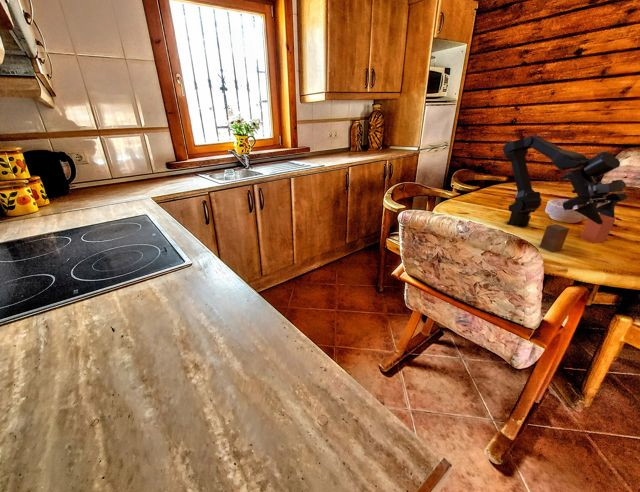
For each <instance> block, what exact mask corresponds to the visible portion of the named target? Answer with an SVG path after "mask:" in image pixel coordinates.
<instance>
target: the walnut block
mask: <svg viewBox="0 0 640 492" xmlns="http://www.w3.org/2000/svg"><path fill="white" fill-rule="evenodd" d="M569 232H570V227H567V226H563V225H560V224H558V223H555V224H548V225H546V227H545V230H544V232H543V236H542V237H541V238H542V239H541V241H540V245H539V248H541V249H543V250H546V251H549V252H551V253H555V252H558V251H562V249H563V247H564V245H565V242H566V239H567V236H568V234H569Z"/></svg>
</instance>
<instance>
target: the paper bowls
mask: <svg viewBox="0 0 640 492" xmlns="http://www.w3.org/2000/svg"><path fill="white" fill-rule="evenodd" d="M567 200H568V199H566V198H554V199H549V200H548V201H547V203H546V206H545V208H544V212H545V213H546V214H547V215H549V218H550V219H552V220H554V221H556V222H560V223H566V224H576V223H579V222H581V221H582V220H586V219H587V220H588V218H587V217H586V216H584V215H582V214H580V213H579V212H577V211H574V210H575V209H577V205H576V206H574V207H573V209H571V210H564V208H563V206H562V205H563V202H565V201H567Z"/></svg>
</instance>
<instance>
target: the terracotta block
mask: <svg viewBox="0 0 640 492" xmlns="http://www.w3.org/2000/svg"><path fill="white" fill-rule="evenodd" d="M599 215H600V217H601V220H602V224H597V223H595V222H594V221H592V220H591V219H589V218H587V221H586V222H585V225H584V227H583V229H582V232H581V234H580V237H579V239H582V240H584V241H587V242H589V243H592V244H599V243H605V242H606V241H607V239H608V236H609V234H610V232H611V230H610V229H612V228H611V227H613V225H614V224H615V222H616V217H615V218H612V217H609V216H606V215H603V214H600V213H599ZM614 221H615V222H614ZM606 238H607V239H606Z"/></svg>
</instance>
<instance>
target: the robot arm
mask: <svg viewBox="0 0 640 492" xmlns="http://www.w3.org/2000/svg"><path fill="white" fill-rule="evenodd" d="M531 149H533V150H535V151H536V152H538V153H540V154H541V155H543V156H544V157H547V158H548V159H550V160H551V163H552V165H553V166H554V167H555V168H557V169H558V170H559V171H569V172H564V173H563V175H562V176H561V178H560V180H561V181H569V183H570V184H571V186H572V188H573V189H572V190H571V193H572V194H576V195H577V196H576V195H575V196H574V197H572V198H570V199H567V201H565V202H563V205H562V206H563V208H564V210H571V209H573V207H574V206H576V205H577V209H575V210H574V211H577V212H579V213H580V214H582V215H584V216H586V217H587V219H588V218H589V219H591V220H592V221H594V222H595V223H597V224H602V220H601V217H600V215H599V214H603V215H606V216H609V217H612V218H615V219H616V217H615V216H616V215H615V207H616V205H617V204H618V203H620V202H624V201H626V200H628V196H627V194H626V193H625V192H624V189H625V188H626V187H627V184H626V182H625V181H624V180H623V179H622V178H621V179H615V180H611V182H605V183H602V182H601V181H596V180H595V179H594V178H599V177H602V176H604V175H606V174H607V173H610V172H611V171H613V170H616V169H617V168H619V167H620V166H621V162H620V160H619V158H617V157H616V156H614V155H612V154H609V152H608V151H601V152H599V153H597V154H596V155H595V156H592V157H591V158H589V157H586V155H584V154H583V153H580V152H576V151H573V150H566V149H564V148H562V147H560V146H558V145H556V144H554V143H553V142H550V141H548V140H546V139H545V138H543V137H542V136H540V135H529V136H526V137H524V138H520V139H517V140H512V141H507V142H505V144H504V146H503V147H502V151H503V155H504V157H505V158H506V159H507V160H508V161H509V162H510V164H511V169H512V173H513V176H514V181H515V185H516V186H515V187H516V192H517V191H518V193H517V195H516V194H515V195H516V197H515V196H514V203H511V204H510V205H508V212H510V216H509V219H508V221H507V223H506V225H511V226H515V227H520V228H525V227H527V226H528V225H529V224H530V221H531V218H532V215H531V213H536V211H537V209H539V208H540V206H542V201H543V199H542V197H541V193H540V191H536V190H534V189H533V186H532V181H531V178H530V173H529V169H528V165H527V160H526V157H527V155H528V152H529V150H531ZM614 223H616V220H615V221H614Z"/></svg>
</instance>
